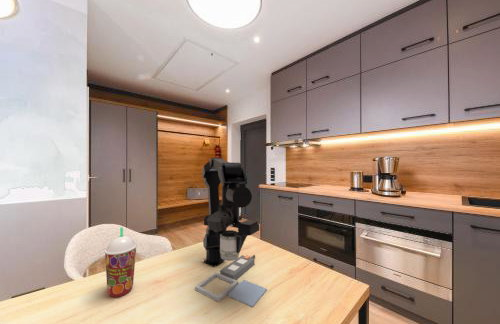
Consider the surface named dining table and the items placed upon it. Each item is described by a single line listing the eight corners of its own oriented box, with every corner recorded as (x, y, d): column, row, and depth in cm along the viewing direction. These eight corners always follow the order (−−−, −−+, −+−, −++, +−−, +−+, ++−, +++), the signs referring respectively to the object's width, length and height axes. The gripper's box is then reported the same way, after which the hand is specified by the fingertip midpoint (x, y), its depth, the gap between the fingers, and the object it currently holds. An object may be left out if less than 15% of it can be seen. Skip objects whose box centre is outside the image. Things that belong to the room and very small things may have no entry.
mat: (227, 295, 60) (227, 294, 60) (243, 280, 68) (243, 279, 68) (252, 307, 55) (252, 306, 55) (267, 290, 63) (267, 288, 63)
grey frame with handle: (194, 289, 62) (194, 281, 62) (244, 254, 87) (244, 248, 87) (218, 301, 57) (218, 292, 57) (264, 260, 82) (264, 254, 82)
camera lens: (239, 261, 60) (240, 235, 60) (219, 261, 59) (219, 235, 59) (239, 252, 66) (239, 228, 66) (220, 252, 66) (220, 228, 66)
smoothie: (101, 304, 56) (102, 233, 56) (106, 287, 63) (107, 225, 63) (135, 295, 60) (136, 229, 60) (136, 280, 67) (137, 222, 67)
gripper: (191, 201, 61) (190, 252, 61) (238, 209, 51) (238, 270, 51) (215, 197, 71) (215, 240, 70) (260, 203, 60) (260, 254, 60)
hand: (230, 250), depth 63 cm, fingers closed on camera lens, 6 cm apart
